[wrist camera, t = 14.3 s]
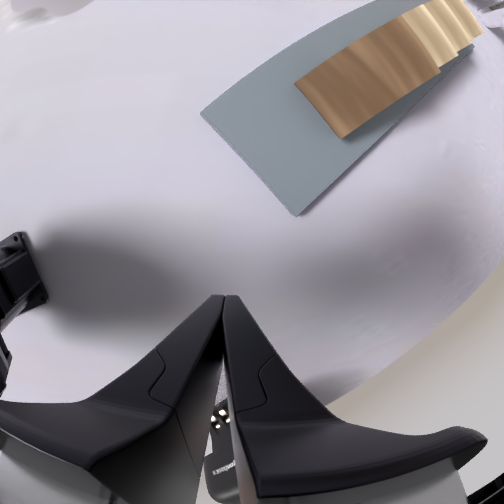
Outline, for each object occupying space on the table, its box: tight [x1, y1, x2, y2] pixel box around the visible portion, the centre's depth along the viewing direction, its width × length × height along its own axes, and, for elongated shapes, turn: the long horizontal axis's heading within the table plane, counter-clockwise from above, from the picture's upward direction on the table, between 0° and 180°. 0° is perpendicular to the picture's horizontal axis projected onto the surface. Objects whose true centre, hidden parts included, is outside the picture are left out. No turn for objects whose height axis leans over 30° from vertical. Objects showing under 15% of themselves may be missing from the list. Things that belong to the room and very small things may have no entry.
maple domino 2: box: [423, 0, 473, 52], centre depth 15 cm, size 2×5×10 cm
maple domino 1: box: [356, 4, 458, 68], centre depth 15 cm, size 2×5×10 cm
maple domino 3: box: [444, 0, 484, 39], centre depth 15 cm, size 2×5×10 cm
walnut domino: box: [294, 15, 441, 139], centre depth 15 cm, size 2×5×10 cm
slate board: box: [200, 0, 474, 217], centre depth 18 cm, size 33×10×1 cm, turn 132°
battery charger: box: [203, 399, 241, 504], centre depth 20 cm, size 7×4×11 cm, turn 129°
